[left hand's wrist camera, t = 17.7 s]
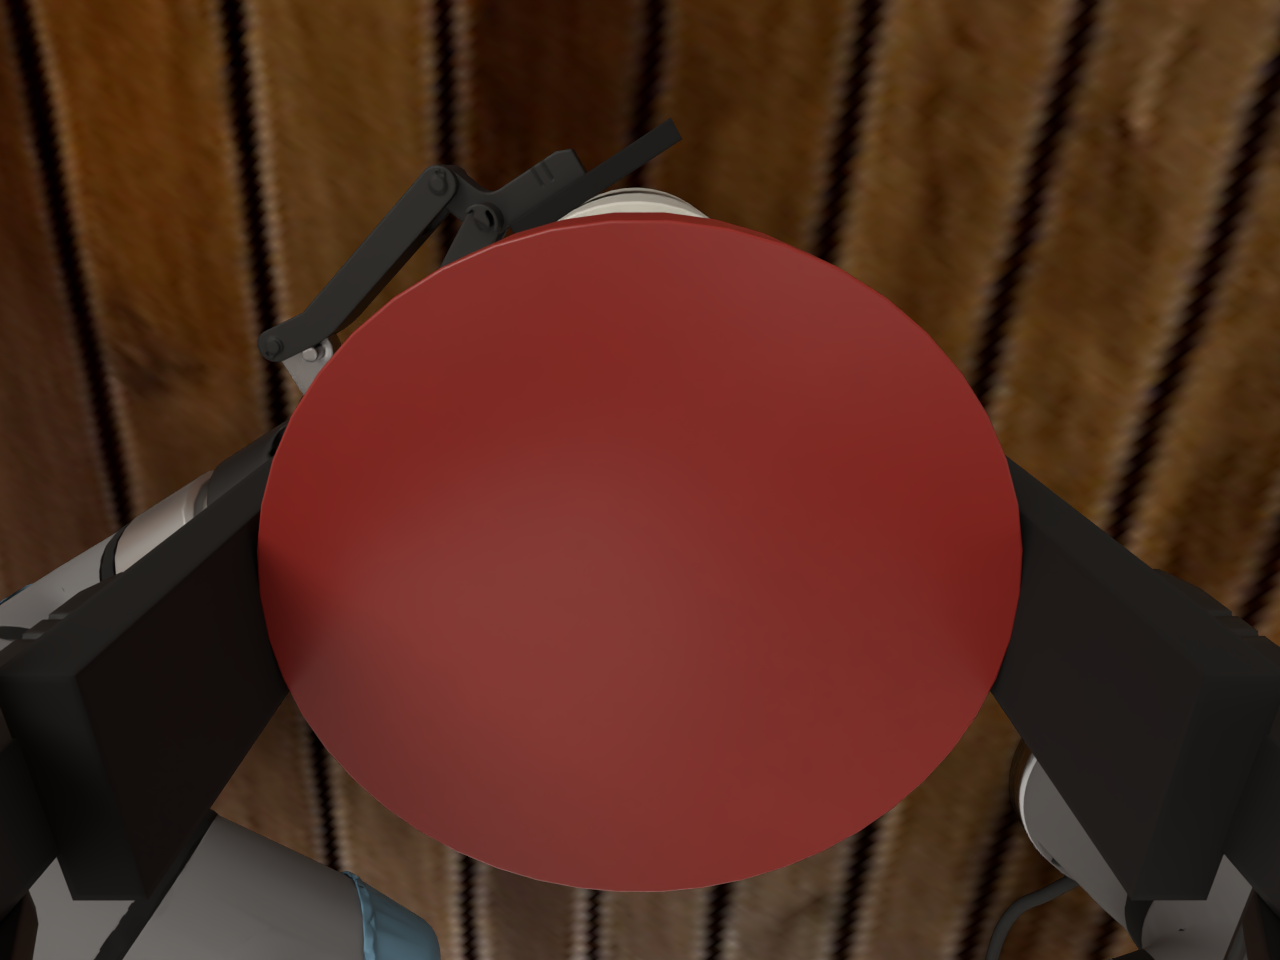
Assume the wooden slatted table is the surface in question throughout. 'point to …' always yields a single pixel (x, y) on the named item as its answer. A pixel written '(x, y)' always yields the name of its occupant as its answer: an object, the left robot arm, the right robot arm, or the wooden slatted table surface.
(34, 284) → the wooden slatted table surface
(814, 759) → the lid
